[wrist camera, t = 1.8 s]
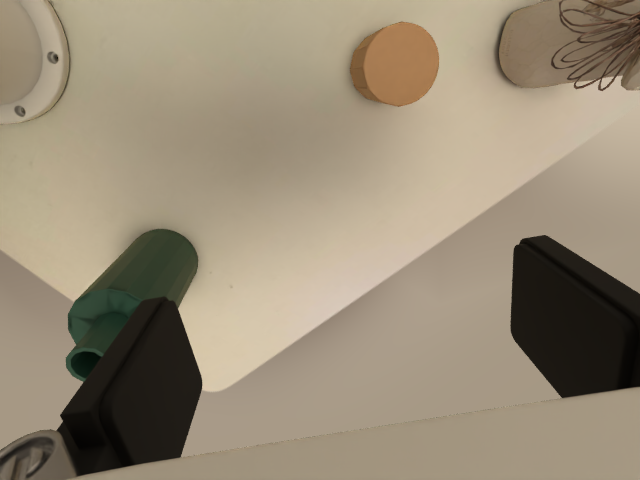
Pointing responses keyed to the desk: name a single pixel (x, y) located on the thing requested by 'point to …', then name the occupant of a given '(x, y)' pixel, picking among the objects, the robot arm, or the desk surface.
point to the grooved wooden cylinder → (395, 64)
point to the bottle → (128, 293)
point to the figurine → (573, 43)
